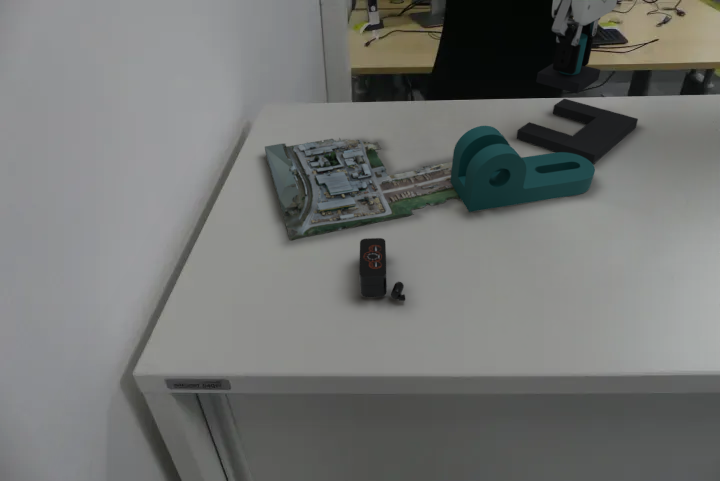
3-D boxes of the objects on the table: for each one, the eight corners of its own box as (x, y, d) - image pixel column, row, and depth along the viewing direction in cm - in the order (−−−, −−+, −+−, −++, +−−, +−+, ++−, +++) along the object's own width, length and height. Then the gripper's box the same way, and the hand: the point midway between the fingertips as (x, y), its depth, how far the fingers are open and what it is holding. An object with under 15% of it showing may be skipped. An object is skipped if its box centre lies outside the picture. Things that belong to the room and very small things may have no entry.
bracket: (469, 212, 69) (476, 157, 64) (450, 181, 74) (455, 129, 69) (600, 191, 72) (617, 137, 67) (574, 163, 77) (588, 111, 72)
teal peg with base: (557, 69, 85) (566, 25, 81) (598, 79, 81) (609, 34, 77) (535, 82, 81) (543, 37, 77) (577, 93, 78) (587, 47, 74)
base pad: (562, 106, 92) (564, 98, 91) (635, 127, 85) (638, 118, 84) (516, 138, 84) (517, 129, 83) (592, 164, 77) (594, 155, 76)
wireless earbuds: (360, 305, 58) (359, 282, 56) (361, 261, 64) (360, 238, 62) (405, 304, 58) (405, 281, 56) (402, 259, 63) (402, 237, 61)
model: (517, 193, 73) (519, 182, 72) (290, 240, 67) (288, 229, 66) (453, 123, 89) (454, 113, 88) (266, 156, 84) (264, 146, 83)
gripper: (598, -65, 62) (566, 92, 73) (657, -87, 71) (621, 56, 82) (537, -71, 66) (516, 78, 78) (600, -91, 75) (573, 46, 87)
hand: (570, 66), depth 80 cm, fingers closed on teal peg with base, 3 cm apart
